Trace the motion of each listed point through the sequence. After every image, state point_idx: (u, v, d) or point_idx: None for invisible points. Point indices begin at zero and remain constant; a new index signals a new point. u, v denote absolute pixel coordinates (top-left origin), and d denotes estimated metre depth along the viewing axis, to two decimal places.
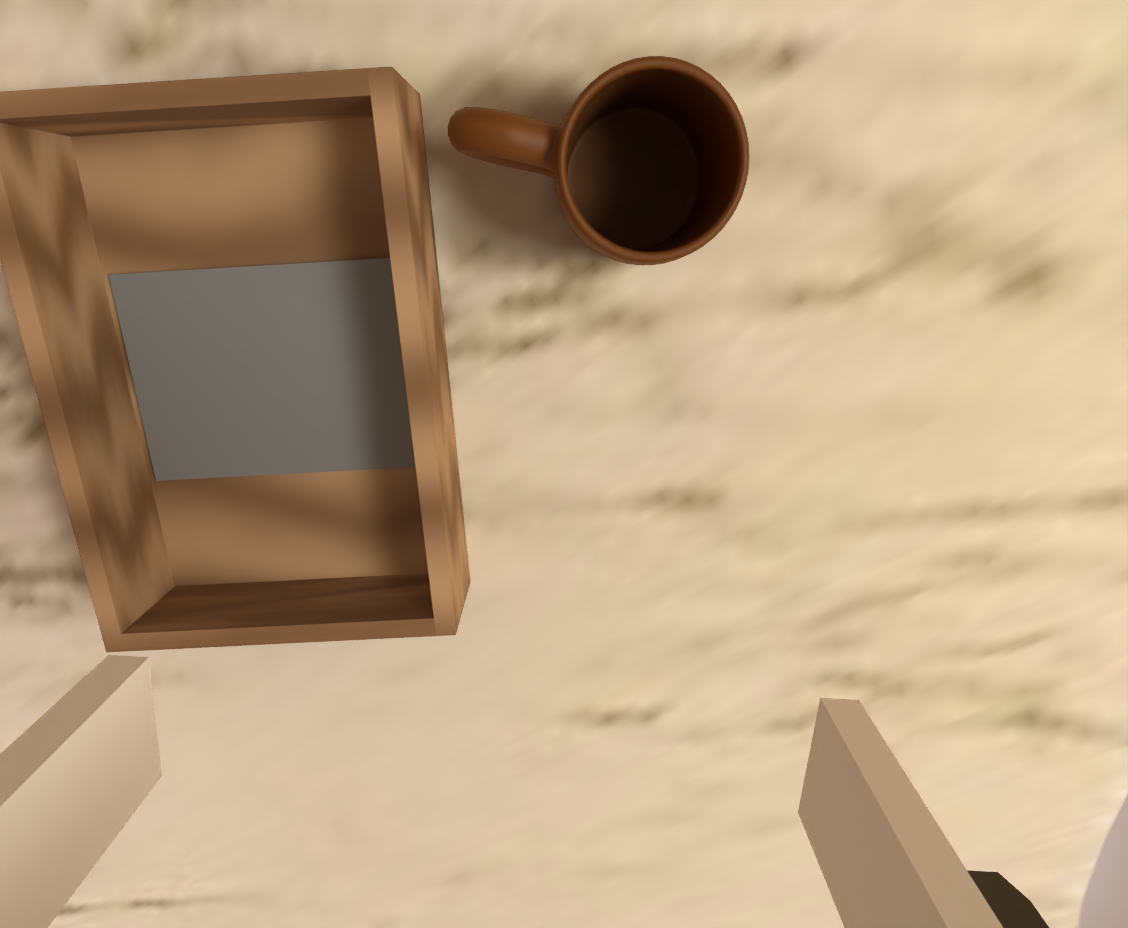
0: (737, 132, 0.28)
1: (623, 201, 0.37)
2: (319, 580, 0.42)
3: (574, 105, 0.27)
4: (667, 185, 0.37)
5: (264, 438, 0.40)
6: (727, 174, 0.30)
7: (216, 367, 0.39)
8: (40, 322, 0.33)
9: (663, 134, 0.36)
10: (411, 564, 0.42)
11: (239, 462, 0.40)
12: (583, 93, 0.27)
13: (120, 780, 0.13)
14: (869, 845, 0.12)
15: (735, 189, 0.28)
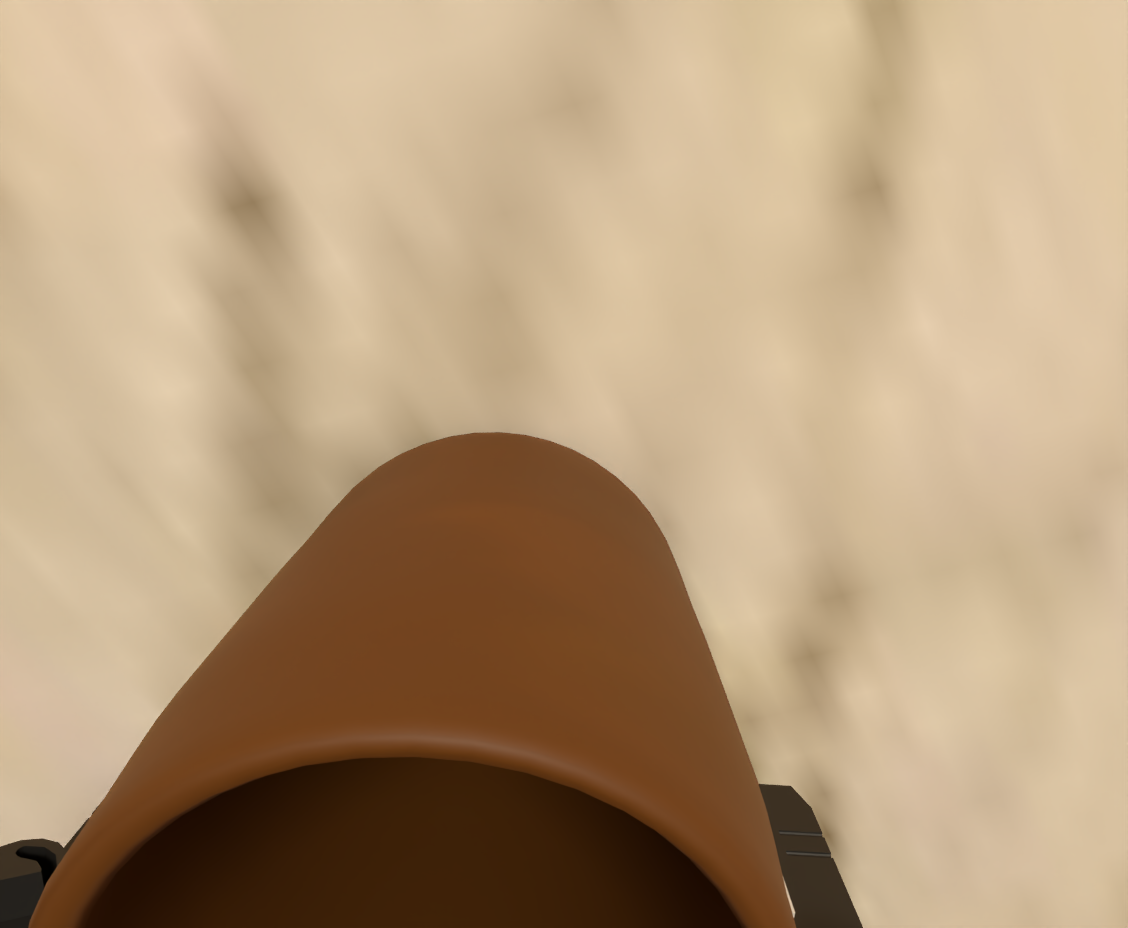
0: (307, 765, 0.06)
1: None
2: None
3: None
4: None
5: None
6: None
7: None
8: None
9: None
10: None
11: None
12: None
13: None
14: None
15: None
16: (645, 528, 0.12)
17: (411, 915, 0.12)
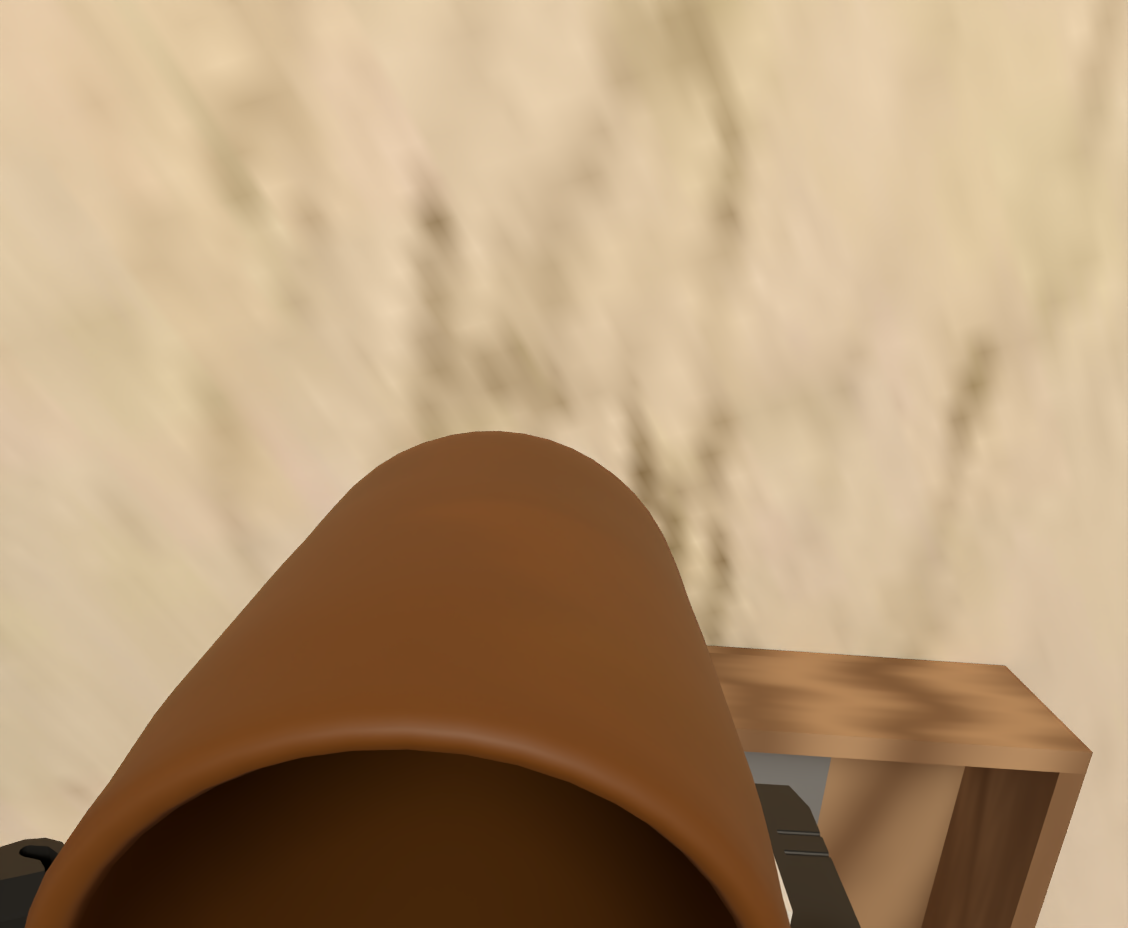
0: (302, 757, 0.06)
1: None
2: (952, 827, 0.36)
3: None
4: None
5: None
6: None
7: None
8: None
9: None
10: None
11: None
12: None
13: None
14: None
15: (551, 772, 0.06)
16: (643, 526, 0.12)
17: (410, 912, 0.12)
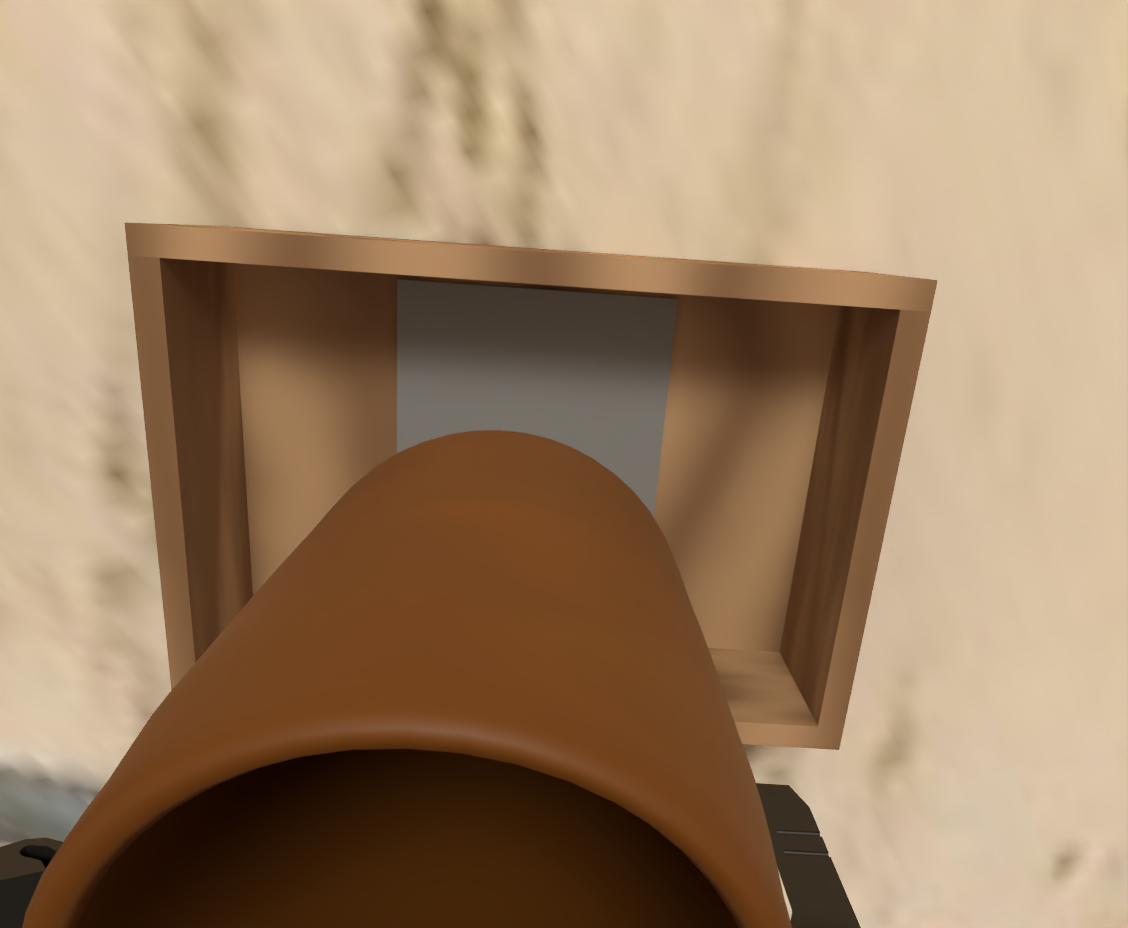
0: (300, 756, 0.06)
1: None
2: (811, 477, 0.31)
3: None
4: None
5: None
6: None
7: None
8: None
9: None
10: (817, 350, 0.30)
11: None
12: None
13: None
14: None
15: None
16: (643, 525, 0.12)
17: (410, 912, 0.12)
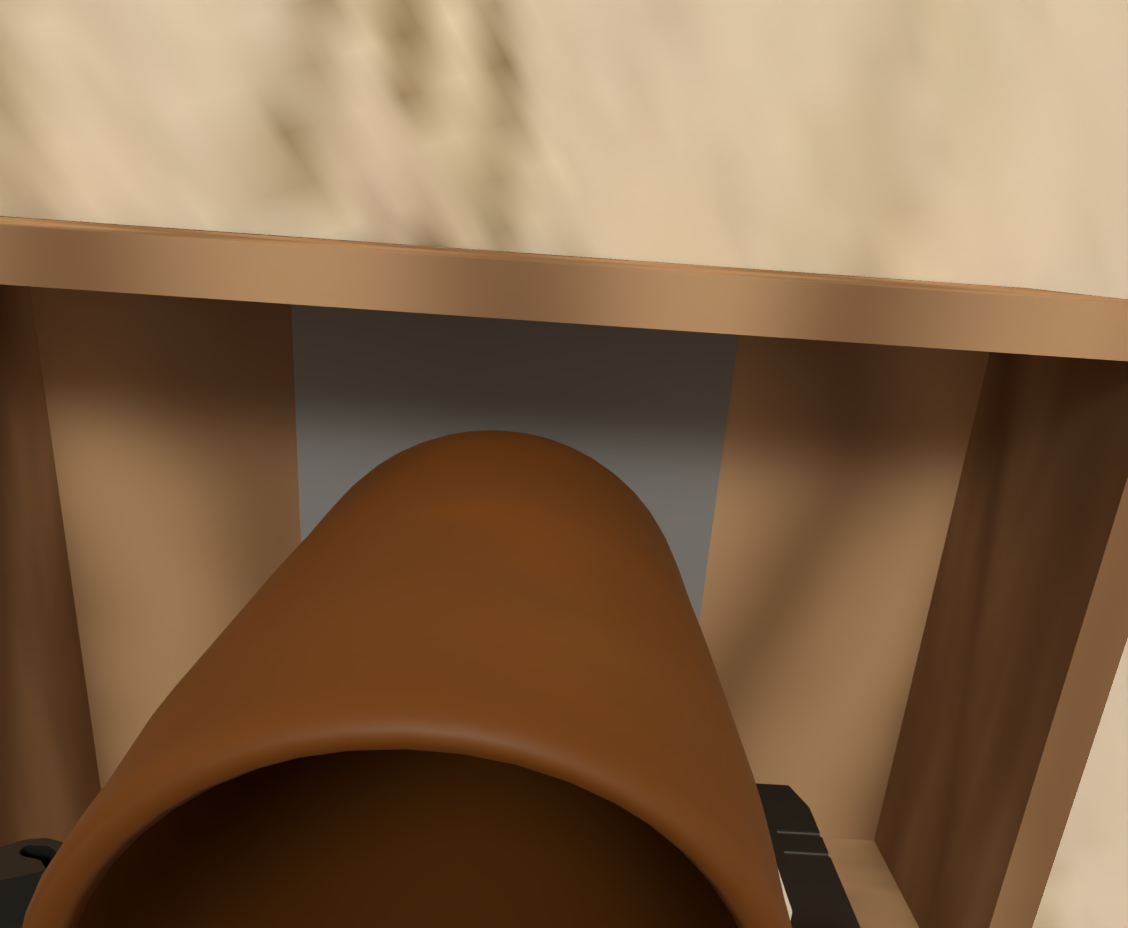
0: (299, 757, 0.06)
1: None
2: (936, 600, 0.20)
3: None
4: None
5: None
6: None
7: None
8: None
9: None
10: (952, 410, 0.19)
11: None
12: None
13: None
14: None
15: None
16: (643, 525, 0.12)
17: (410, 912, 0.12)
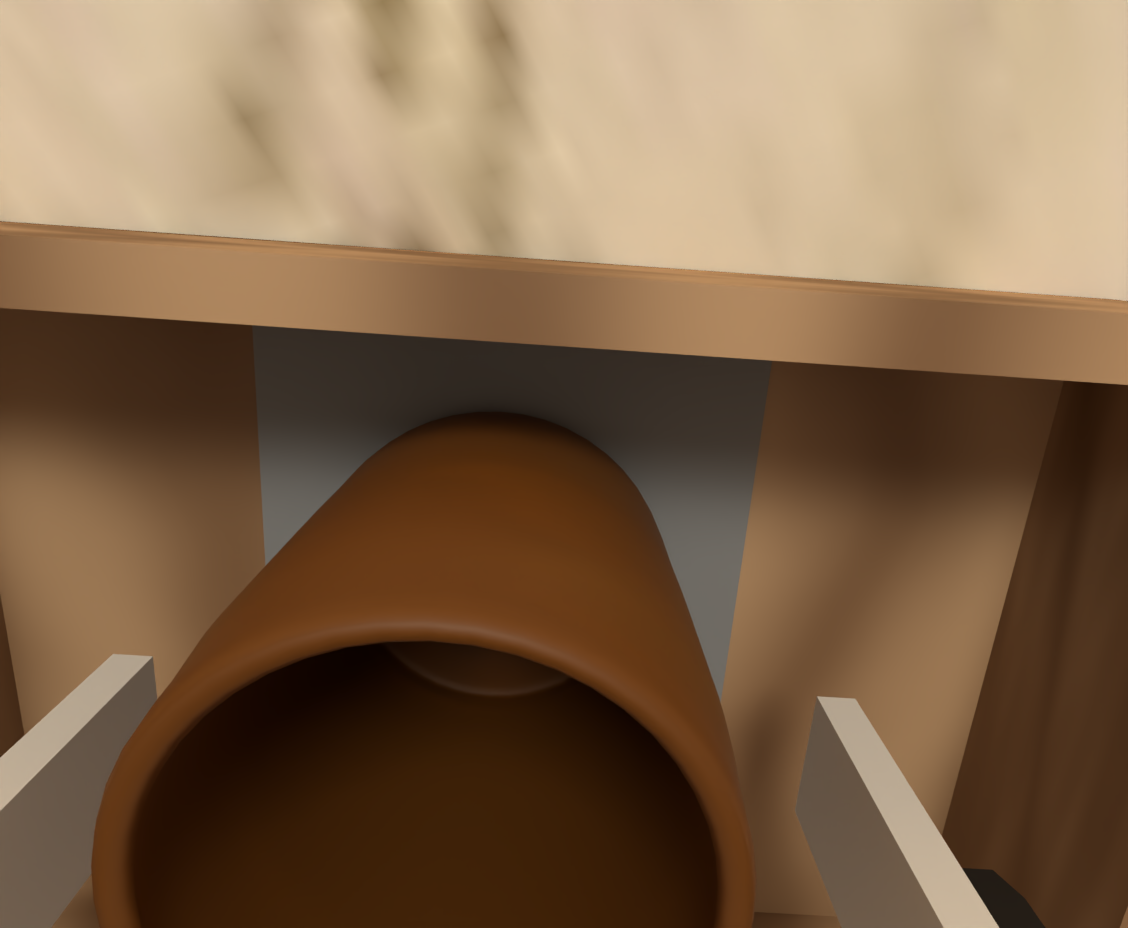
0: (340, 648, 0.07)
1: None
2: (996, 657, 0.18)
3: None
4: None
5: None
6: None
7: None
8: None
9: None
10: (1020, 440, 0.17)
11: None
12: None
13: None
14: (864, 843, 0.12)
15: (545, 664, 0.07)
16: (630, 495, 0.14)
17: (415, 841, 0.13)
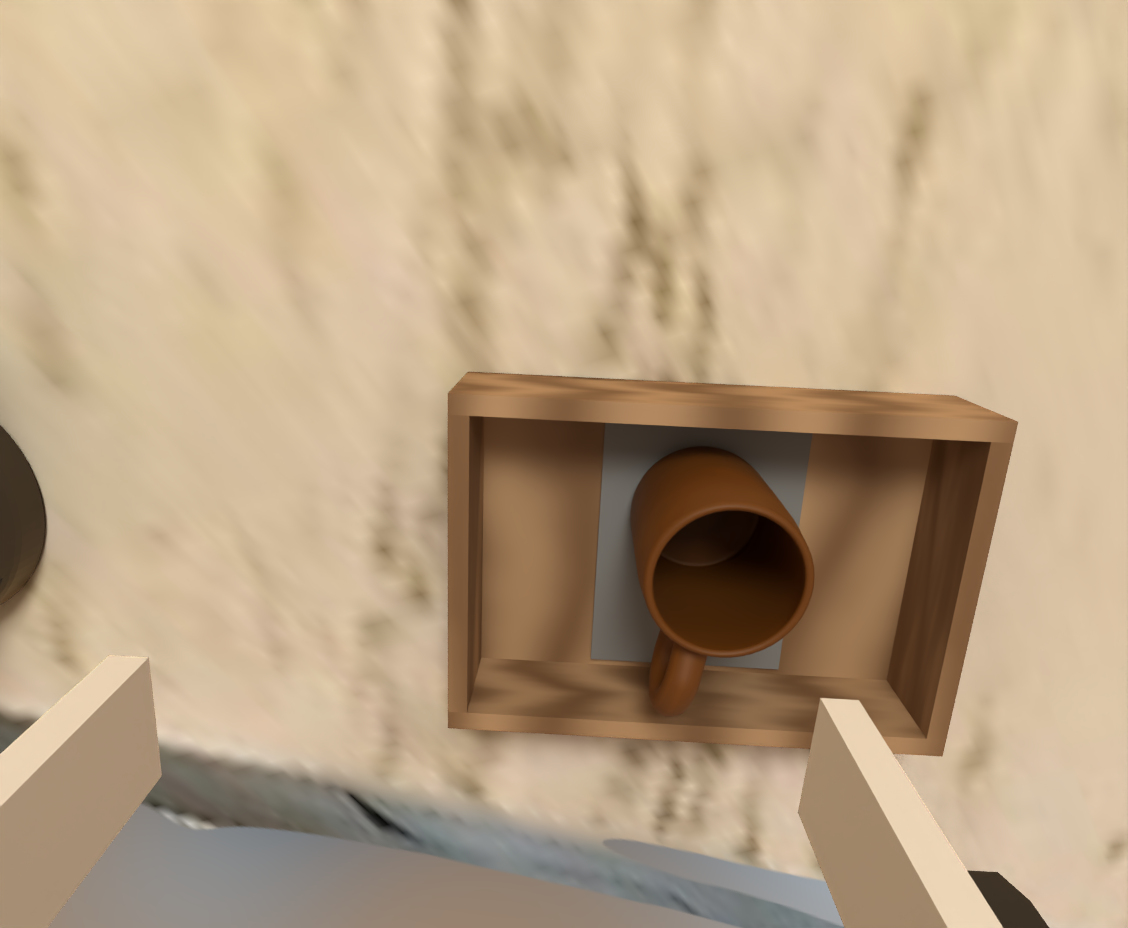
0: (715, 512, 0.31)
1: (714, 519, 0.40)
2: (914, 548, 0.41)
3: (672, 639, 0.33)
4: None
5: None
6: None
7: None
8: (625, 721, 0.39)
9: None
10: (919, 454, 0.40)
11: None
12: (664, 631, 0.32)
13: (120, 780, 0.13)
14: (868, 844, 0.12)
15: (763, 515, 0.31)
16: (762, 478, 0.37)
17: (687, 603, 0.37)
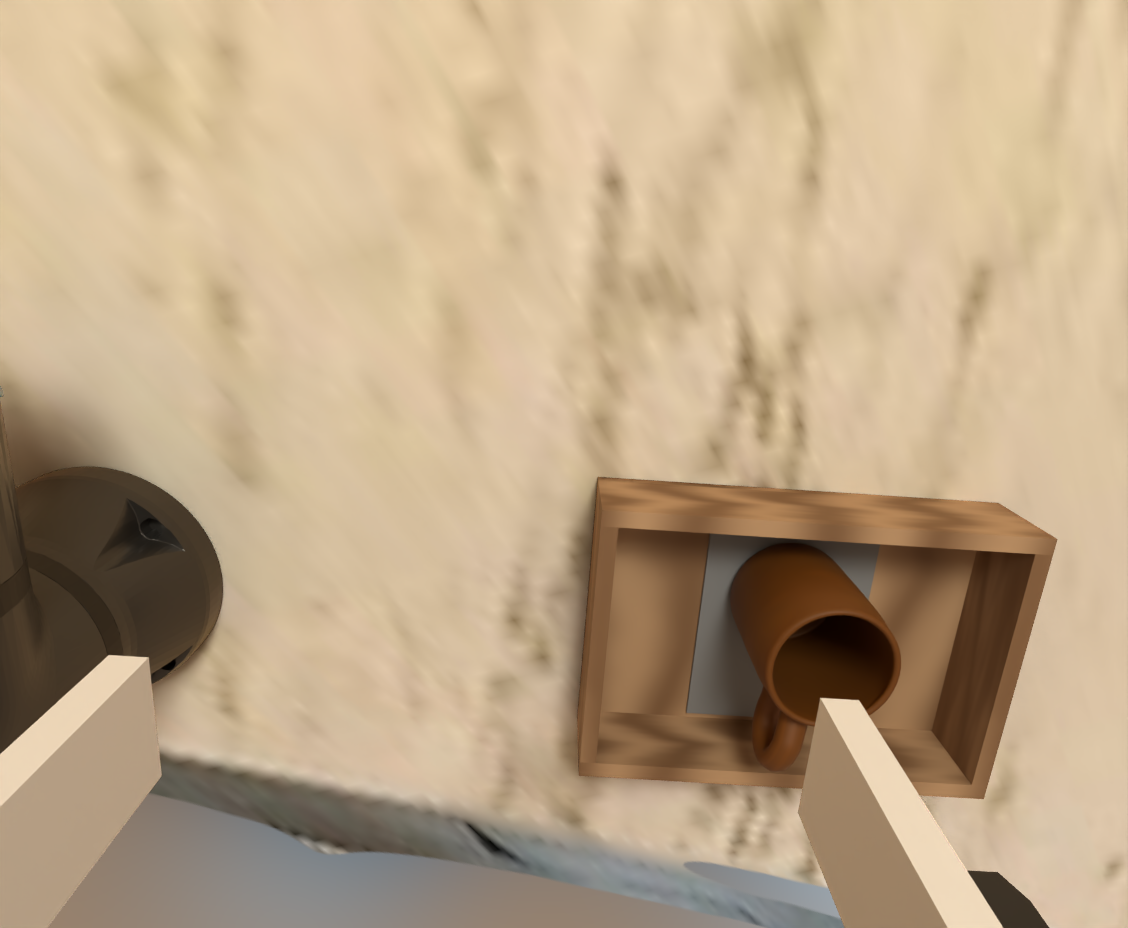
0: (827, 616, 0.39)
1: None
2: (960, 625, 0.49)
3: (785, 713, 0.41)
4: None
5: None
6: None
7: None
8: (726, 770, 0.47)
9: None
10: (967, 550, 0.48)
11: None
12: (779, 707, 0.41)
13: (120, 780, 0.13)
14: (869, 845, 0.12)
15: (864, 619, 0.39)
16: (845, 574, 0.45)
17: (784, 676, 0.45)
